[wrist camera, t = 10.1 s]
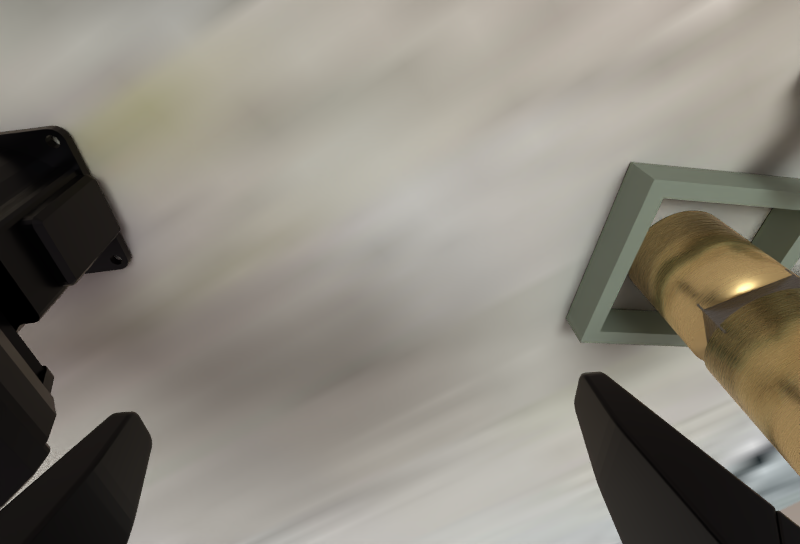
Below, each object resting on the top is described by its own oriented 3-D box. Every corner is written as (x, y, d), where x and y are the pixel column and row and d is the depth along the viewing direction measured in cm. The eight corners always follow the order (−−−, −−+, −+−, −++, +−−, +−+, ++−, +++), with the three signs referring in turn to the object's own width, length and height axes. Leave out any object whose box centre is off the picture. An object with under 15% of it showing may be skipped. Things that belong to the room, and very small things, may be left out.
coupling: (636, 305, 26) (809, 518, 16) (619, 237, 23) (814, 443, 13) (727, 268, 25) (970, 470, 15) (720, 193, 22) (1009, 380, 13)
